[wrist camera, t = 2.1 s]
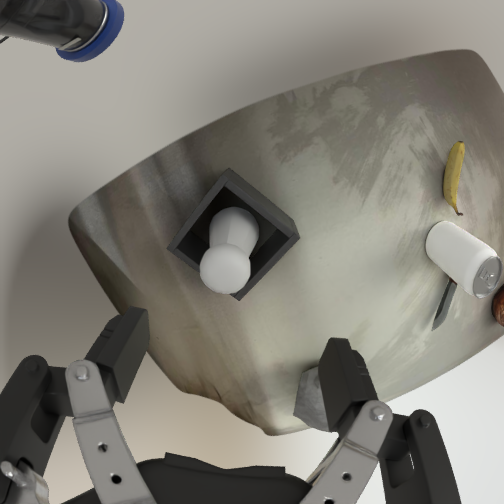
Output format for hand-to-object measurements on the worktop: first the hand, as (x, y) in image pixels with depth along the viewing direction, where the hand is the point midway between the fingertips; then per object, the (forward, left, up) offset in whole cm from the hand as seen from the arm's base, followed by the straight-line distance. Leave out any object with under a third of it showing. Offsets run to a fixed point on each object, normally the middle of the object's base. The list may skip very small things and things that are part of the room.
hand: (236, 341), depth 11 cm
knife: (+32, +12, -24) cm, 42 cm away
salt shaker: (0, -3, -24) cm, 24 cm away
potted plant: (+30, -14, -24) cm, 41 cm away
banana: (+17, +22, -24) cm, 37 cm away
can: (+24, +15, -24) cm, 37 cm away
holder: (0, -3, -24) cm, 24 cm away
